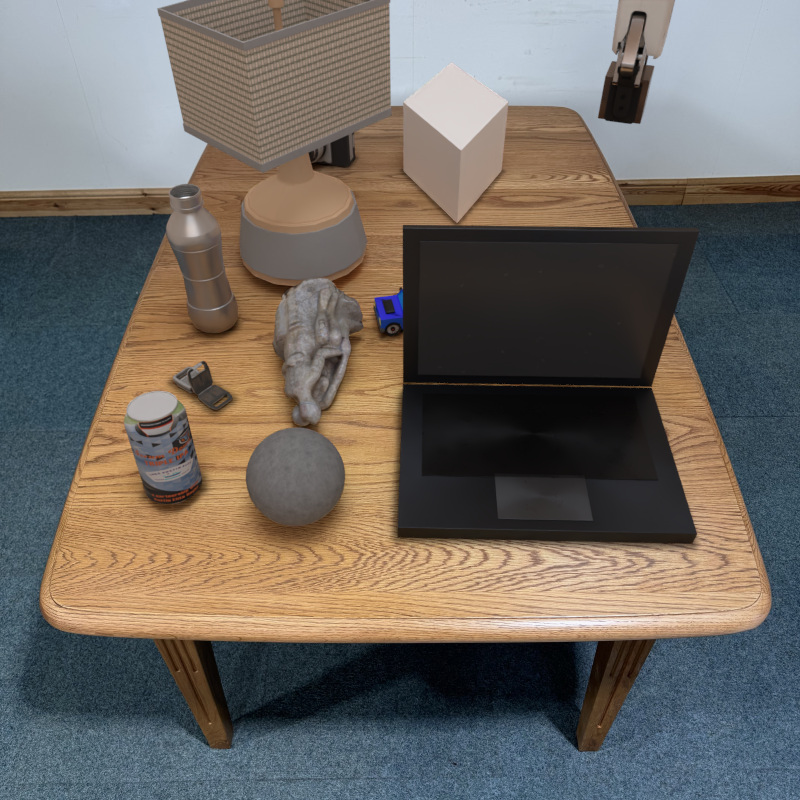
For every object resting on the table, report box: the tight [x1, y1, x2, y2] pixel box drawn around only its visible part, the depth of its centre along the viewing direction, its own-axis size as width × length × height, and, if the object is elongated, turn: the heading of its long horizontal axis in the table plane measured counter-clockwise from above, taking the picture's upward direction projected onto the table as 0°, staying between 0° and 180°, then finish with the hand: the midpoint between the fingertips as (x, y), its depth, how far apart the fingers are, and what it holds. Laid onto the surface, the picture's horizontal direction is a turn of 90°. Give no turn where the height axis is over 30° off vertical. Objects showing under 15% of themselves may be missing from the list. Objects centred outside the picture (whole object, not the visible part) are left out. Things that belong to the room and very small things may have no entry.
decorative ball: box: [245, 426, 346, 527], centre depth 74 cm, size 10×10×10 cm
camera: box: [309, 132, 356, 168], centre depth 128 cm, size 14×8×10 cm, turn 73°
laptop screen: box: [402, 224, 700, 388], centre depth 81 cm, size 21×30×1 cm
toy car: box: [372, 286, 403, 337], centre depth 97 cm, size 7×12×5 cm, turn 101°
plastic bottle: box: [165, 183, 239, 334], centre depth 92 cm, size 6×7×20 cm
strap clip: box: [172, 360, 233, 411], centre depth 88 cm, size 8×3×4 cm, turn 51°
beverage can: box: [123, 390, 203, 505], centre depth 75 cm, size 6×7×12 cm
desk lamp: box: [156, 0, 393, 287], centre depth 97 cm, size 22×19×37 cm
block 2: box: [597, 60, 655, 125], centre depth 79 cm, size 5×5×5 cm
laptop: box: [397, 383, 698, 545], centre depth 81 cm, size 21×30×2 cm
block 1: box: [402, 61, 509, 224], centre depth 125 cm, size 18×35×12 cm, turn 179°
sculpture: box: [272, 278, 365, 427], centre depth 88 cm, size 11×18×12 cm
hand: (622, 109), depth 80 cm, fingers closed on block 2, 4 cm apart
